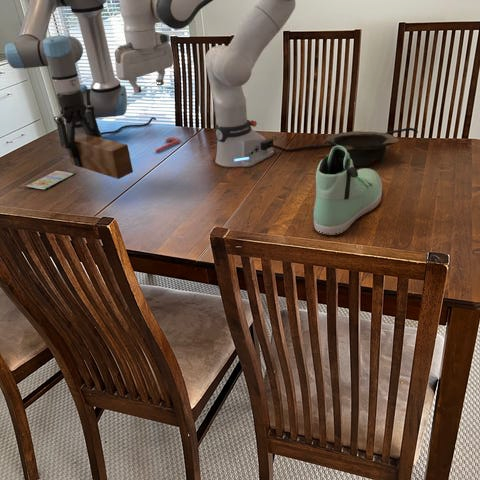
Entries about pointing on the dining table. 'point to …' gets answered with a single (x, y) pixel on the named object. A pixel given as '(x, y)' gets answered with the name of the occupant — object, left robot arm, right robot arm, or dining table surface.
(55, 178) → the baking ingredient package
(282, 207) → the dining table surface
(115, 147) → the bar
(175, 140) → the candy cane
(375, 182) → the sneaker
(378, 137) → the dark brown hat
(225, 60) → the right robot arm
